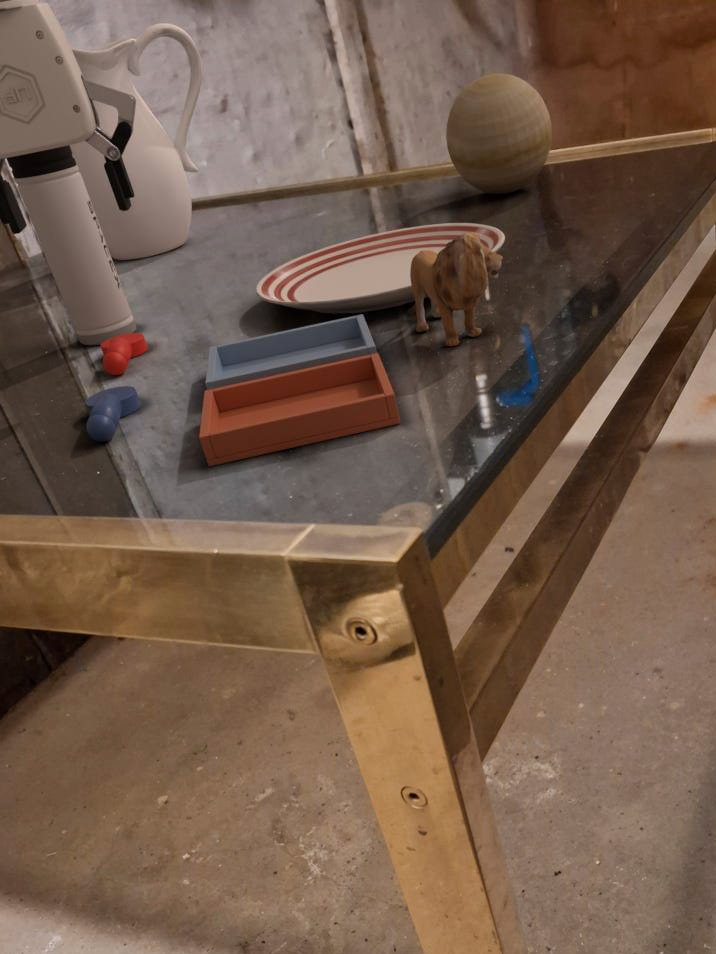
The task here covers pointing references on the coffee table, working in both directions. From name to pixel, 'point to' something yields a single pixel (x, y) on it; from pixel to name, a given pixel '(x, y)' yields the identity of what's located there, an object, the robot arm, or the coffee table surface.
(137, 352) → the red spoon
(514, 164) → the decorative ball
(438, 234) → the dinner plate
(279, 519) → the coffee table surface
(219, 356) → the blue tray
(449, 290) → the lion figurine
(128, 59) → the pitcher
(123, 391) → the blue spoon
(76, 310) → the travel mug
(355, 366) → the red tray
